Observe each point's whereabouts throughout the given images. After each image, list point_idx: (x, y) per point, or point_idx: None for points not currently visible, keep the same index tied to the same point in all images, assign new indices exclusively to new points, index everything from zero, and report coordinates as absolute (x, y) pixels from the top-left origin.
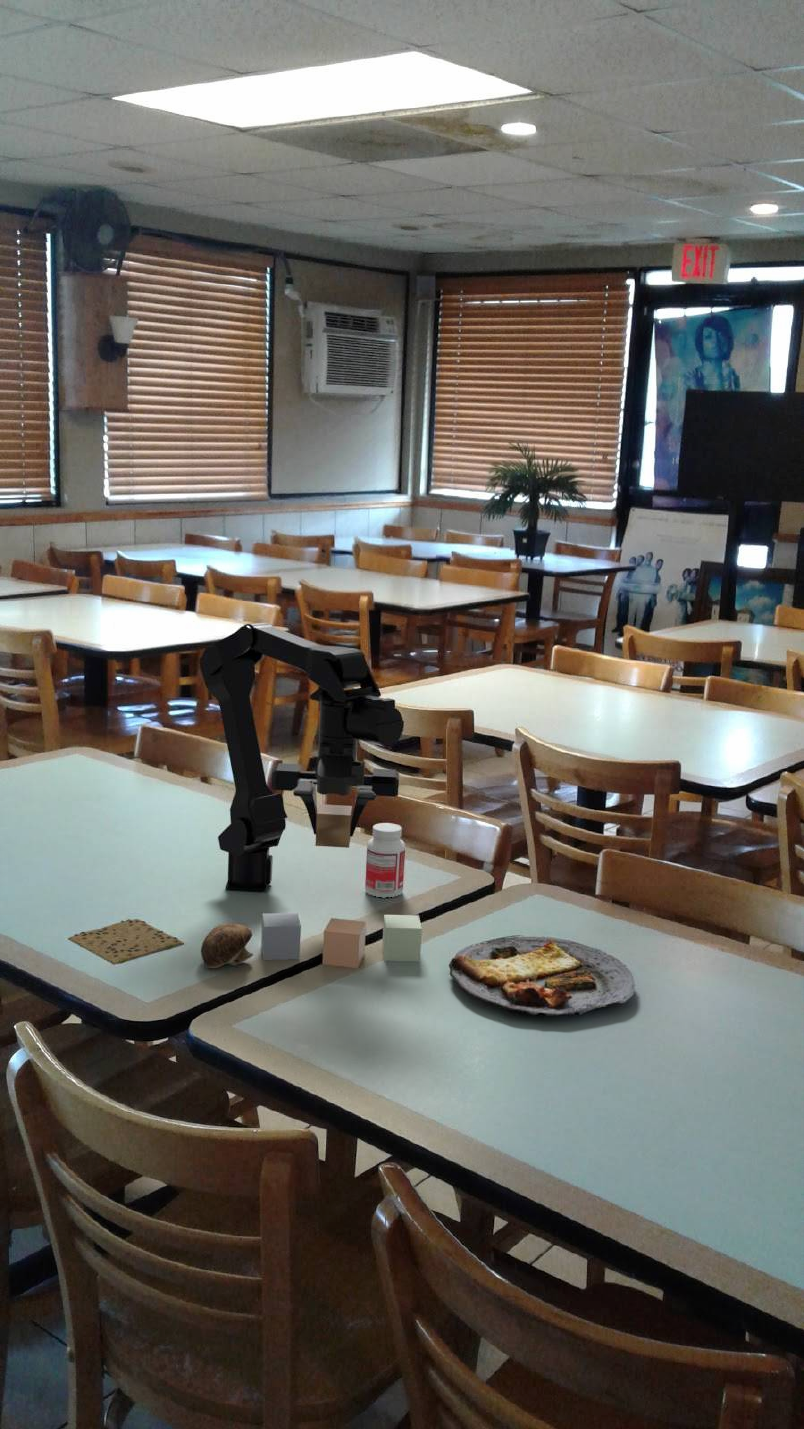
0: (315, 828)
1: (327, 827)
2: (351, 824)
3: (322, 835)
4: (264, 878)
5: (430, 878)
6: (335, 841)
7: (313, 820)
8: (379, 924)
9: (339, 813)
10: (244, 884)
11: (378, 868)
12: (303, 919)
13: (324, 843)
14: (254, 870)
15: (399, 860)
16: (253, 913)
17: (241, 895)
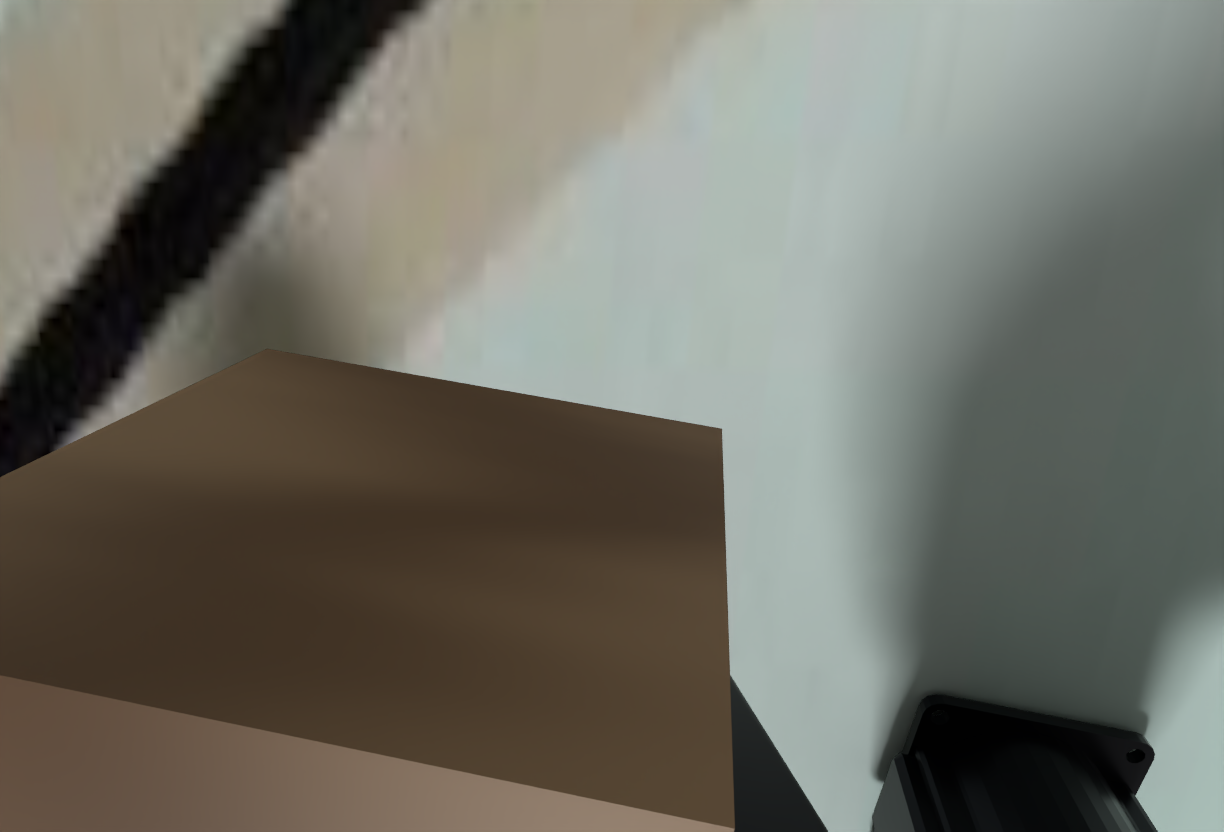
0: None
1: (492, 533)
2: None
3: (610, 479)
4: (939, 776)
5: None
6: (421, 410)
7: (763, 816)
8: (325, 213)
9: (58, 792)
10: (1051, 746)
11: None
12: (763, 296)
13: (591, 418)
14: (1026, 811)
15: None
16: (1058, 398)
17: (1068, 660)
